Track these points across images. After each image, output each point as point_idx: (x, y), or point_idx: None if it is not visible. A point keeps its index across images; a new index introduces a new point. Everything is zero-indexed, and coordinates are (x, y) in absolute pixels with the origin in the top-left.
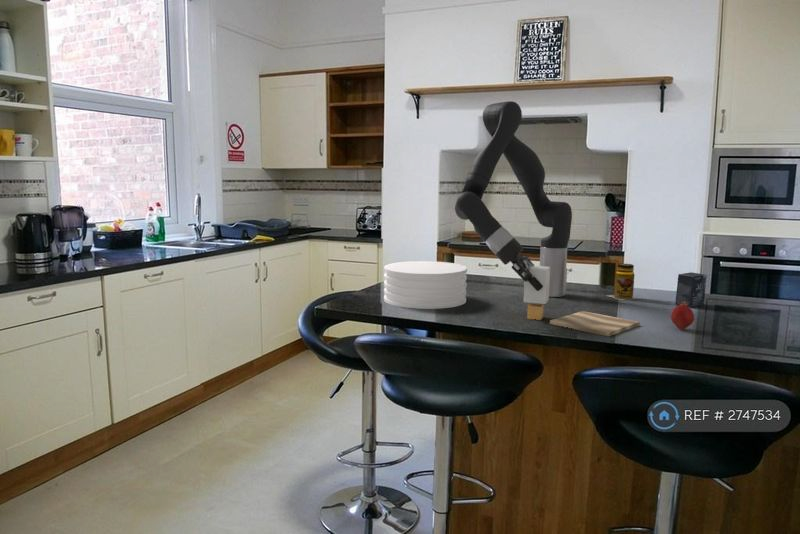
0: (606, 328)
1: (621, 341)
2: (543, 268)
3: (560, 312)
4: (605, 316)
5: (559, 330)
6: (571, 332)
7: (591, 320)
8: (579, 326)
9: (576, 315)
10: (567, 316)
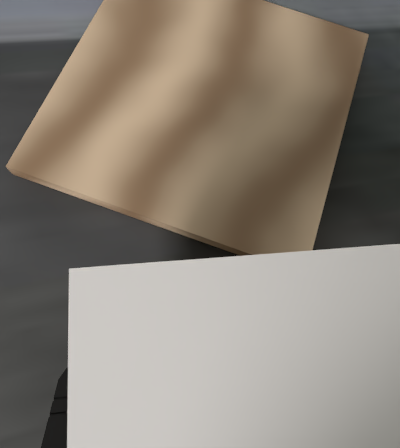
0: (307, 46)
1: (396, 10)
2: (329, 335)
3: (9, 282)
4: (88, 64)
5: (389, 213)
6: (388, 165)
7: (199, 106)
8: (339, 135)
9: (128, 177)
10: (172, 212)
